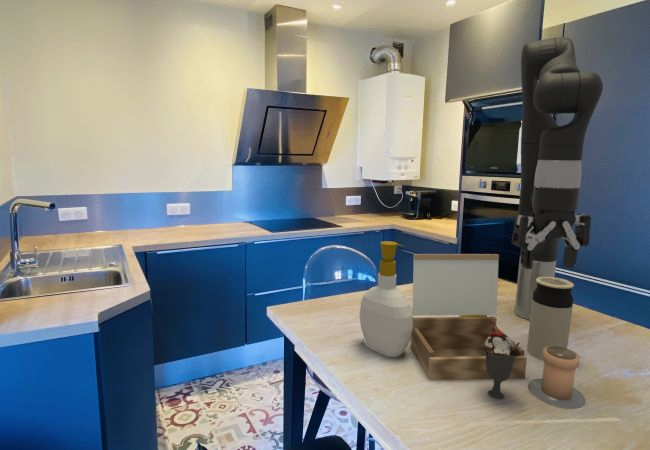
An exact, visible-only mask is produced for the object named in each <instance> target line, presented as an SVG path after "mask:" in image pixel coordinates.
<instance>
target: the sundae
mask: <svg viewBox="0 0 650 450" xmlns="http://www.w3.org/2000/svg"><path fill="white" fill-rule="evenodd" d="M490 323H491V324H492V323H493V324H494V321H490ZM494 325H495V324H494ZM494 325H493V326H494ZM495 326H496V328H497V330H498V329H499V327H498V326H497V324H496V325H495ZM495 326H494V330H493V331H492V332H490V335H491V336H490V337H488V338H487V339H486V341H485V342H484V343H482V347H483V348H484V351H485V354H486V368H487V373H488V375H489V376H490V377H491V378H492V379H491V380H493V386H492V389H491V390H488V391H487V395H488V396H489V397H490V398H492V399H495V400H503V399H504V398H505V394H504V393H502V392H501V385H502V383H503V382H505V381H507V380H508V379H510V378H509V377H510V374H511V371H512V367H513V363H514V360H515V357H518V356H521V354H520V349H519V348H518V347H517V346H519V345H520V342H519V341H518V342H517V343H516V344H517V345H516V346H515V345H512V341H513V340H512V339H511V337H509V336H508V335H507V334H506V333H504V332H503V331H502V330H501V331H502V332H503V333H504V334H503V333H502V332H501V331H499V330H500V329H499V330H498V332H497V333H496V332H494V331H495Z"/></svg>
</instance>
